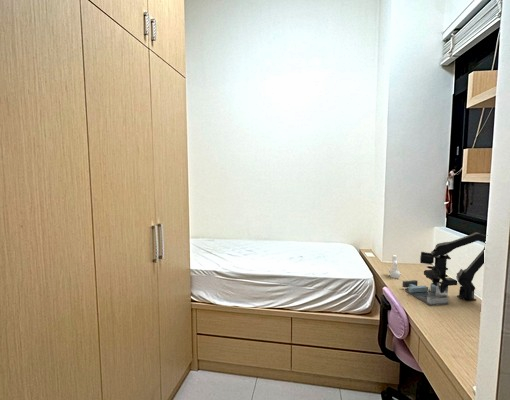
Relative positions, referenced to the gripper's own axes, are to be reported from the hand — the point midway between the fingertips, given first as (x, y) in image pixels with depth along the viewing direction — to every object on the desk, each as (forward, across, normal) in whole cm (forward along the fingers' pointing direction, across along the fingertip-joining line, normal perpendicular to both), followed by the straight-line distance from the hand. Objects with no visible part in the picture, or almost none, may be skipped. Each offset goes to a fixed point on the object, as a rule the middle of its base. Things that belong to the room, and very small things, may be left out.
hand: (438, 291), depth 168 cm
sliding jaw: (0, -6, -11) cm, 13 cm away
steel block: (+2, 0, 0) cm, 2 cm away
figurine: (+2, -30, -8) cm, 31 cm away
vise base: (+2, +3, -11) cm, 11 cm away
